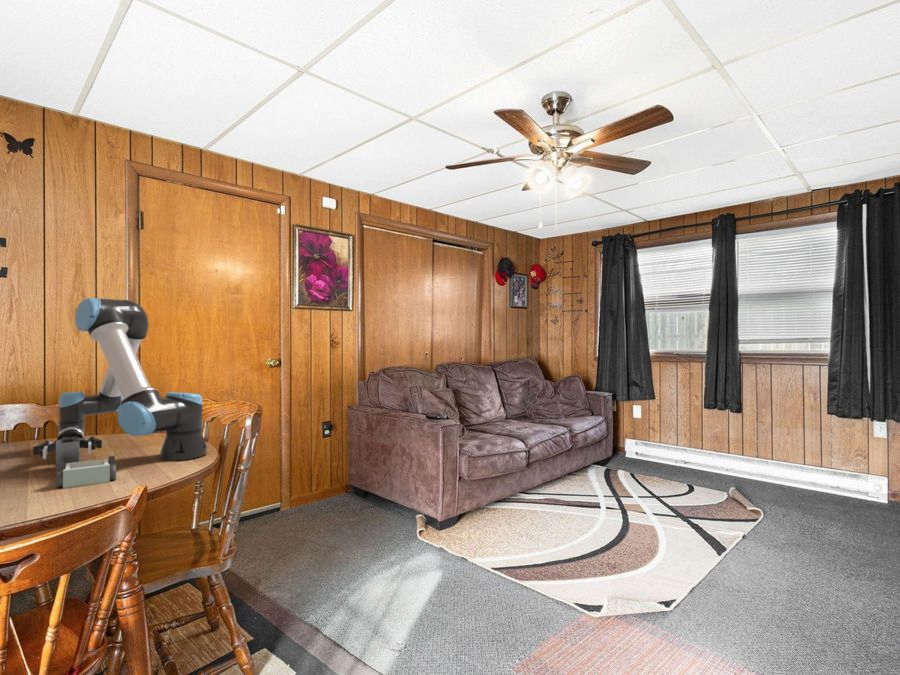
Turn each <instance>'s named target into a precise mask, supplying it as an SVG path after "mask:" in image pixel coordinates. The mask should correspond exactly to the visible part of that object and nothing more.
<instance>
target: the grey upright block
mask: <svg viewBox="0 0 900 675" xmlns="http://www.w3.org/2000/svg"><path fill="white" fill-rule="evenodd" d="M56 440H57V439H56ZM64 461H66V463H74V462H81V448H80V438H74V437H64V438H62V440H57V442H56V450H55V472H59V462H64Z"/></svg>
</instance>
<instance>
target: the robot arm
mask: <svg viewBox="0 0 900 675" xmlns="http://www.w3.org/2000/svg"><path fill="white" fill-rule="evenodd" d="M74 323H75V327H76V328H77V329H78V330H79V331H81V332H88V335H89V336H90V339H91V340H92V341H93V342H97V343H98V344H99V346H100V348H101V351H102V354H103V355H104V358H105V360H106V362H107V368H106V372H105V374H104V377H103V380H102V383H101V386H100V389H99V391H98V393H97V394H93V395H85V392H83V391H68V392H63V393H60V395H59V400H58V419H59V420H58V435H57V437H56V440H55V441H53V442H52V441H50V440H45V441H43V442H42V443H39V444H37V445H35V446H33V447H32V449H33V450H32V455H33V456H37V455H39V456H40V457H41V458H42V460H47V457H48V454H49V453H52V452H56V442H57V440H62V438H64V437H74V438H80V449H87V450H88V451H87V453H88V455H91V454H92V451H95V450H96V449H101V448H103V440H102V439H99V438H96V437H95V436H90V437H88V438H87V439H86V438H85V433H86V432H85V430H86V429H85V417H87V416H93V415H101V414H106V413H111V414H112V413H115V412H117V414H116V415H117V416H118V417H117V422H118V425H119V427H120V428H121V430H122V431H124V433H126V434H127V435H129V436H132V437H141V436H144V437H145V436H148V435H152V434H153V435H154V434H157V433H162V432H165V438H164V440H163V442H162V446H161V449H160V451H159V453H160V454H159V459H161V460H162V459H163V461H168V460H180V461H187V460H186V459H189V460H194V459H193V458H195V459H198V458H197V457H199V458H202V457H204V456H203V455H205V454H206V455H207V454H208V446H207V444H206V440H205V438H204V435H203V407H204V406H203V405H204V404H203V396H202V395H201V394H199V393H194V392H193V393H192V392H175V391H174V392H173V391H172V392H166V395H165V397H162V395H161V394H160V393H159V390H158V389H157V388H153V387H151V385H150V383H149V380H148V378H147V376H146V374H145V372H144V369H143V368H142V366H141V363H140V361H139V359H138V356H137V354H138V350H139V348H140V346H141V343H142V341H143V340H145V339H146V338H147V334H148V332H149V318H148V314H147V312H146V311H145V309H144V308H143V307H142V306H141V305H140V304H139V303H137V302H135V301H133V300H130V299H109V298H99V297H95V298H94V297H87V298H84V299H83V300H81V302H79V304H78V305H77V307H76V310H75V315H74ZM206 455H205V456H206ZM201 456H202V457H201Z"/></svg>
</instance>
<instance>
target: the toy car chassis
mask: <svg viewBox="0 0 900 675" xmlns="http://www.w3.org/2000/svg"><path fill="white" fill-rule="evenodd" d="M115 457H116V455H109V456H108V458H103V459H94V460H93V459H92V460H86V461H83V460H82V461H80V462H74V463H66V461H64V462H59V471H57V472H56V471H55V472H56V474H55V488H56V489H57V488H62V489H68V488H75V487H82V486H90V485H91V486H92V485H97V484H105V483H110V481H113V480H114V481H115V480H117V464H116V458H115Z"/></svg>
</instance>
